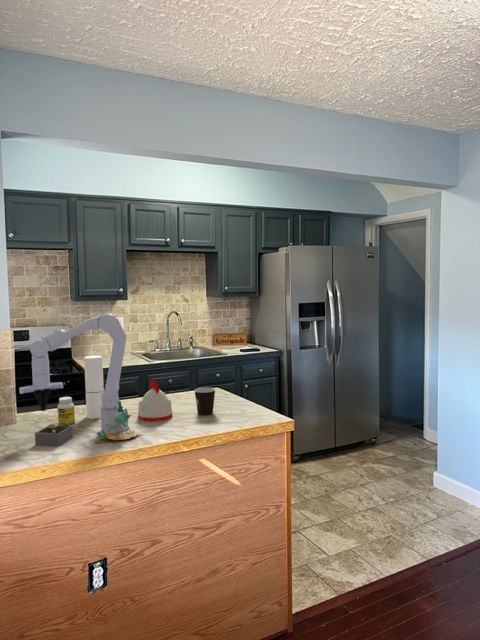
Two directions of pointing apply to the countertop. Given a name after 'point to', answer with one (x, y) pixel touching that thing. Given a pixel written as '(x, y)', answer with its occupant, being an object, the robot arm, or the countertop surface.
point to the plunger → (53, 427)
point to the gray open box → (53, 436)
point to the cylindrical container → (93, 385)
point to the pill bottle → (66, 412)
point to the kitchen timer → (154, 405)
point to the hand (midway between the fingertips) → (42, 410)
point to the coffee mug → (205, 400)
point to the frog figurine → (120, 418)
